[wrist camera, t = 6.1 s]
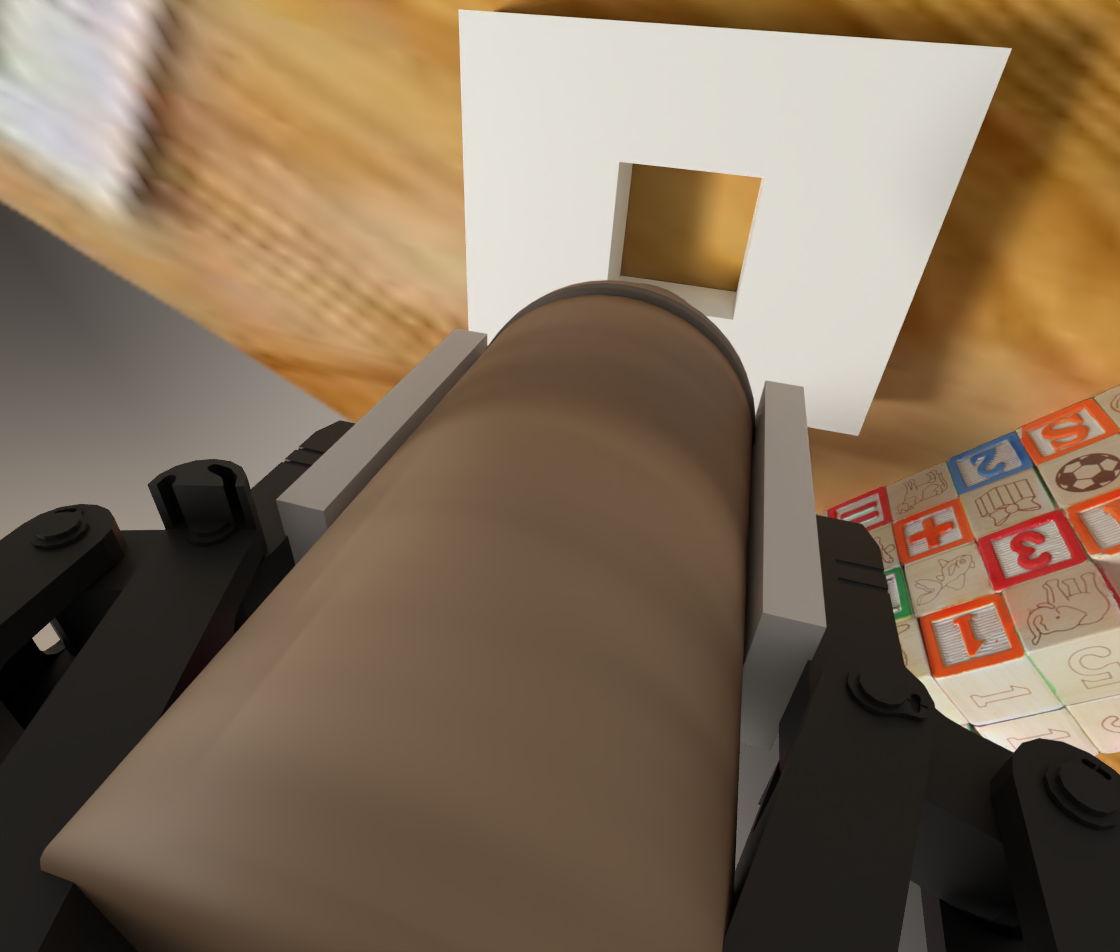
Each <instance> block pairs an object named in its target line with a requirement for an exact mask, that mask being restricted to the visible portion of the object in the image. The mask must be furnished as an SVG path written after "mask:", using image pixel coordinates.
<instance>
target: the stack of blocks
mask: <svg viewBox="0 0 1120 952" xmlns="http://www.w3.org/2000/svg"><path fill="white" fill-rule="evenodd" d="M816 515H821V516H826V517H831V518H835V519H840V520H845V521H850V522H855V523H860V524H863V526H864V527H865V528H866V529H867V531H868V532H869V533H870V535H871V536H872V537H873V539H874V540H875V541H876V543H877V544H878V545H879V546H880V551H881V556H882V561H883V565H884V574H885V575H886V579H887V584H888V593H890V598H891V603H892V607H893V612H894V617H895V621H896V626H897V631H898V635H899V640H900V645H901V650H902V654H903V659H904V664H905V667H906V668H907V669H909V670H910V671H911V672H912V673H913V674H914V675H915V676H916V677H917V678H918V679H919V680H920V681H921V682H922V683H923V684H924V685H925V687H926V689H927V690H928V692H929V694H930V696H931V698H932V699H933V701H934V703H935V708H936V709H937V710H938V711H939V712H941V713H942V714H943V715H944V716H946V717H947V718H949V719H951V720H952V721H954V722H956V723H957V724H959V725H961V726H962V727H964V728H966V729H968V730H970V731H972V732H974V733H976V734H978V735H980V736H982V737H984V738H986V739H988V740H990V741H992V742H994V743H996V744H998V745H1000V746H1002V747H1004V748H1006V749H1008V750H1010V751H1012V752H1014V751H1015V750H1016V749H1017V748H1018V747H1019V746H1020V745H1021V743H1023V742H1027V741H1031V740H1034V739H1038V738H1042V739H1049V740H1056V741H1062V742H1065V743H1067V744H1070V745H1072V746H1074V747H1077V748H1079V749H1081V750H1084V751H1086V752H1088V753H1090V754H1092V755H1093V756H1096V755H1098V754H1099V753H1100V752H1102V753H1106V754H1109V753H1115V752H1120V385H1119V386H1116V387H1114V388H1112V389H1109V390H1107V391H1105V392H1103V393H1101V394H1099V395H1097V396H1096V397H1094V398H1092V399H1087V400H1084V401H1082V402H1079V403H1077V404H1074V405H1072V406H1069V407H1067V408H1065V409H1062V410H1060V411H1058V412H1055V413H1053V414H1050V415H1048V416H1045V417H1043V418H1041V419H1038V420H1036V421H1034V422H1032V423H1029V424H1027V425H1024V426H1022V427H1020V428H1018V429H1017V430H1016V431H1015V432H1012V433H1009V434H1006V435H1004V436H1002V437H999V438H997V439H995V440H992V441H990V442H988V443H985V444H983V445H981V446H978V447H976V448H974V449H972V450H969V451H967V452H964V453H962V454H960V455H957V456H955V457H952V458H950V459H949V460H948V461H946V462H942V463H939V464H937V465H935V466H932V467H930V468H928V469H926V470H923V471H921V472H918V473H916V474H914V475H911V476H909V477H907V478H905V479H902V480H900V481H897V482H895V483H893V484H890V485H888V486H886V487H880V488H878V489H876V490H873V491H871V492H868V493H866V494H864V495H861V496H859V497H857V498H854V499H852V500H850V501H847V502H845V503H842V504H840V505H838V506H836V507H833V508H831V509H829V510H826V511H823V512H820V513H818V514H816Z"/></svg>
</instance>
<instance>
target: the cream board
mask: <svg viewBox="0 0 1120 952" xmlns="http://www.w3.org/2000/svg"><path fill="white" fill-rule="evenodd" d="M459 37H460V69H461V101H462V133H463V165H464V197H465V229H466V261H467V293H468V325H469V331H473V332H479V333H485V334H487V346H488V345H489V344H490V342H491V341H492V340H493V338H494V337H495V336H496V334H497V333H498V332H499V331H500V330H501V329H502V328H503V326H504V325H505V324H506V323H507V322H508V321H509V320H510V319H511V318H512V317H513V316H515V315H516V314H517V313H518V312H519V311H520V310H522V309H523V308H525V307H526V306H527V305H529V304H530V303H532V302H534V301H535V300H537V299H539V298H541V297H542V296H544V295H546V294H548V293H550V292H552V291H554V290H557V289H560V288H563V287H566V286H569V285H572V284H577V283H583V282H588V281H601V280H615V281H628V282H633V283H645V284H650V285H655V286H658V287H661V288H664V289H667V290H669V291H671V292H673V293H675V294H676V295H678V296H679V297H681V298H682V299H684V300H685V301H686V302H687V303H688V304H690V305H691V306H693V307H694V308H696V309H697V310H699V311H700V312H702V313H703V314H704V315H705V316H706V317H707V318H708V319H710V320H711V321H712V322H713V323H714V324H715V325H716V326H717V327H718V328H719V329H720V330H721V332H722V333H723V334H724V335H725V336H726V338H727V339H728V340H729V341H730V343H731V344H732V346H733V348H734V349H735V351H736V352H737V354H738V355H739V357H740V359H741V362H742V364H743V366H744V368H745V371H746V373H747V376H748V380H749V383H750V387H751V390H752V394H753V398H754V406H755V415H756V413H757V409H758V406H759V402H760V398H761V395H762V391H763V388H764V384H765V380H766V381H772V382H778V383H784V384H790V385H796V386H802V387H804V397H805V407H806V418H807V427H810V428H816V429H822V430H827V431H833V432H839V433H844V434H850V435H855V436H858V435H859V433H860V430H861V428H862V425H863V423H864V420H865V418H866V415H867V413H868V410H869V407H870V405H871V402H872V400H873V397H874V395H875V392H876V390H877V387H878V385H879V382H880V380H881V377H882V375H883V372H884V370H885V367H886V365H887V362H888V360H889V357H890V355H891V352H892V350H893V347H894V344H895V342H896V339H897V337H898V334H899V332H900V329H901V327H902V324H903V322H904V319H905V317H906V314H907V312H908V309H909V307H910V304H911V302H912V299H913V297H914V294H915V292H916V289H917V287H918V284H919V281H920V279H921V276H922V274H923V271H924V269H925V266H926V264H927V261H928V259H929V256H930V254H931V251H932V249H933V246H934V244H935V241H936V239H937V236H938V234H939V231H940V229H941V226H942V224H943V221H944V218H945V216H946V213H947V211H948V208H949V206H950V203H951V201H952V198H953V196H954V193H955V191H956V188H957V186H958V183H959V181H960V178H961V176H962V173H963V171H964V168H965V166H966V163H967V161H968V158H969V155H970V153H971V150H972V148H973V145H974V143H975V140H976V138H977V135H978V133H979V130H980V128H981V125H982V123H983V120H984V118H985V115H986V113H987V110H988V108H989V105H990V103H991V100H992V98H993V95H994V92H995V90H996V87H997V85H998V82H999V80H1000V77H1001V75H1002V72H1003V70H1004V67H1005V65H1006V62H1007V60H1008V57H1009V55H1010V52H1011V50H1012V48H1002V47H990V46H977V45H963V44H949V43H935V42H920V41H906V40H892V39H877V38H863V37H849V36H835V35H820V34H806V33H792V32H778V31H763V30H749V29H735V28H720V27H706V26H692V25H678V24H663V23H649V22H635V21H621V20H606V19H592V18H578V17H563V16H549V15H535V14H521V13H506V12H492V11H476V10H459ZM633 163H634V164H643V165H652V166H661V167H670V168H679V169H688V170H697V171H706V172H716V173H725V174H734V175H743V176H752V177H761V178H762V180H761V185H760V189H759V194H758V198H757V203H756V207H755V211H754V216H753V220H752V225H751V229H750V234H749V238H748V243H747V247H746V251H745V256H744V260H743V265H742V269H741V274H740V278H739V282H738V287H737V291H736V292H733V291H726V290H719V289H712V288H705V287H698V286H691V285H684V284H677V283H670V282H663V281H656V280H649V279H642V278H635V277H628V276H621V275H620V273H621V264H622V255H623V247H624V238H625V229H626V220H627V211H628V202H629V193H630V185H631V176H632V167H633Z"/></svg>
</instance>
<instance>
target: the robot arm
mask: <svg viewBox="0 0 1120 952" xmlns="http://www.w3.org/2000/svg"><path fill="white" fill-rule="evenodd" d="M486 348H487V334H485V333H479V332H473V331H467V330H461V329H455V330H453V331H452V332H451V333H450V334H449V335H448V336H447V337H446V338H445V339H444V340H443V341H442V342H441V343H440V344H439V345H438V346H437V347H436V348H435V349H434V350H432V351H431V352H430V353H429V354H428V355H427V356H426V357H425V358H424V359H423V360H422V361H421V362H420V363H419V364H418V365H417V366H416V367H415V368H414V369H413V370H412V371H410V372H409V373H408V374H407V375H406V376H405V377H404V378H403V379H402V380H401V381H400V382H399V383H398V384H397V385H396V386H395V387H394V388H393V389H392V390H391V391H389V392H388V393H387V394H386V395H385V396H384V397H383V398H382V399H381V400H380V401H379V402H378V403H377V404H376V405H375V406H374V407H373V408H372V409H371V410H370V411H368V412H367V413H366V414H365V415H364V416H363V417H362V418H361V419H360V420H359V421H358V422H357V423H356V424H355V423H350V422H345V421H338V422H336V423H334V424H331V425H329V426H327V427H325V428H323V429H321V430H318V431H316V432H315V433H314V434H313V435H312V436H310V437H309V438H308V439H307V440H306V441H305V442H304V443H302V444H301V445H300V446H299V449H298V450H295V451H293V452H292V453H291V454H290V455H289V456H288V457H287V458H286V459H285V462H284V463H283V462H281V463H280V464H279V465H278V466H277V467H275V468H274V469H273V470H272V471H271V472H270V473H269V474H268V475H267V476H265V477H264V478H263V479H262V480H261V481H260V482H259V483H257V485H255V486H254V487H253V488H252V489H250V486H249V482H248V479H247V476H246V474H245V472H244V470H243V468H242V467H241V466H239V465H237V464H235V463H233V462H231V461H225V460H217V459H209V460H196V461H192V462H189V463H185V464H181V465H178V466H175V467H173V468H171V469H169V470H167V471H165V472H163V473H161V474H159V475H158V476H157V477H156V478H155V479H153V480H152V481H151V482H150V483H149V484H148V487H149V489H150V492H151V494H152V497H153V499H154V502H155V504H156V506H157V509H158V511H159V514H160V516H161V519H162V521H163V523H164V526H165V528H166V529H165V530H124V531H123V530H122V531H120V529H119V527H118V525H117V523H116V521H115V519H114V517H113V515H112V514H111V512H110V511H109V510H108V509H106V508H103V507H100V506H98V505H88V504H87V505H86V504H78V505H72V506H65V507H60V508H56V509H54V510H52V511H48V512H46V513H43V514H40V515H38V516H36V517H35V518H33V519H31V520H29V521H28V522H26V523H24V524H22V525H21V526H20V527H18V528H17V529H15V530H14V531H13V532H11V533H10V534H8V535H7V536H6V537H4V538H3V539H1V540H0V952H138V951H137V950H136V949H135V948H134V947H133V946H132V945H131V944H130V943H129V942H128V941H127V940H126V938H125V937H124V936H123V935H122V934H121V933H120V932H119V931H118V930H117V929H116V928H115V927H114V926H113V924H112V923H111V922H110V921H109V920H108V919H107V918H106V917H105V916H104V915H103V914H102V913H101V911H100V910H99V909H98V908H97V907H96V906H95V905H94V904H93V903H92V902H91V901H90V900H89V899H88V897H87V896H86V895H85V894H84V893H83V892H82V891H81V890H80V889H79V888H78V887H77V886H76V884H75V883H74V882H71V881H68V880H66V879H63V878H61V877H58V876H55V875H53V874H50V873H47V872H45V871H42V870H41V866H40V858H41V856H42V854H43V852H44V850H45V848H46V847H47V846H48V845H49V843H50V842H51V841H52V840H53V839H54V838H55V837H56V835H57V834H58V833H59V832H60V831H61V830H62V829H63V828H64V826H65V825H66V824H67V823H68V822H69V821H70V820H71V819H72V817H73V816H74V815H75V814H76V813H77V812H78V811H79V809H80V808H81V807H82V806H83V805H84V804H85V803H86V802H87V800H88V799H89V798H90V797H91V796H92V795H93V794H94V793H95V791H96V790H97V789H98V788H99V787H100V786H101V785H102V783H103V782H104V781H105V780H106V779H107V778H108V777H109V776H110V774H111V773H112V772H113V771H114V770H115V769H116V768H117V767H118V765H119V764H120V763H121V762H122V761H123V760H124V759H125V757H126V756H127V755H128V754H129V753H130V752H131V751H132V750H133V748H134V747H135V746H136V745H137V744H138V743H139V742H140V741H141V739H142V738H143V737H144V736H145V735H146V734H147V733H148V731H149V730H150V729H151V728H152V727H153V726H154V725H155V724H156V722H157V721H158V720H159V719H160V718H161V717H162V716H163V715H164V713H165V712H166V711H167V710H168V709H169V708H170V707H171V705H172V704H173V703H174V702H175V701H176V700H177V699H178V698H179V696H180V695H181V694H182V693H183V692H184V691H185V690H186V689H187V687H188V686H189V685H190V684H191V683H192V682H193V681H194V679H195V678H196V677H197V676H198V675H199V674H200V673H201V672H202V670H203V669H204V668H205V667H206V666H207V665H208V664H209V663H210V661H211V660H212V659H213V658H214V657H215V656H216V655H217V653H218V652H219V651H220V650H221V649H222V648H223V647H224V646H225V644H226V643H227V642H228V641H229V640H230V639H231V638H232V637H233V635H234V634H235V633H236V632H237V631H238V630H239V629H240V627H241V626H242V625H243V624H244V623H245V622H246V621H247V620H248V618H249V617H250V616H251V615H252V614H253V613H254V612H255V611H256V609H257V608H258V607H259V606H260V605H261V604H262V603H263V601H264V600H265V599H266V598H267V597H268V596H269V595H270V594H271V592H272V591H273V590H274V589H275V588H276V587H277V586H278V585H279V583H280V582H281V581H282V580H283V579H284V578H285V577H286V575H287V574H288V573H289V572H290V571H291V570H292V569H293V568H294V566H295V565H296V564H297V563H298V562H299V561H300V560H301V559H302V557H303V556H304V555H305V554H306V553H307V552H308V551H309V549H310V548H311V547H312V546H313V545H314V544H315V543H316V542H317V540H318V539H319V538H320V537H321V536H322V535H323V534H324V533H325V531H326V530H327V529H328V528H329V527H330V526H331V525H332V523H333V522H334V521H335V520H336V519H337V518H338V517H339V516H340V514H341V513H342V512H343V511H344V510H345V509H346V508H347V507H348V505H349V504H350V503H351V502H352V501H353V500H354V499H355V497H356V496H357V495H358V494H359V493H360V492H361V491H362V490H363V488H364V487H365V486H366V485H367V484H368V483H369V482H370V481H371V479H372V478H373V477H374V476H375V475H376V474H377V473H378V471H379V470H380V469H381V468H382V467H383V466H384V465H385V464H386V462H387V461H388V460H389V459H390V458H391V457H392V456H393V455H394V453H395V452H396V451H397V450H398V449H399V448H400V447H401V445H402V444H403V443H404V442H405V441H406V440H407V439H408V438H409V436H410V435H411V434H412V433H413V432H414V431H415V430H416V429H417V427H418V426H419V425H420V424H421V423H422V422H423V421H424V419H425V418H426V417H427V416H428V415H429V414H430V413H431V412H432V410H433V409H434V408H435V407H436V406H437V405H438V404H439V403H440V401H441V400H442V399H443V398H444V397H445V396H446V395H447V393H448V392H449V391H450V390H451V389H452V388H453V387H454V386H455V384H456V383H457V382H458V381H459V380H460V379H461V378H462V377H463V375H464V374H465V373H466V372H467V371H468V370H469V369H470V367H471V366H472V365H473V364H474V363H475V362H476V361H477V360H478V358H479V357H480V356H481V355H482V354H483V353H484V352H485V350H486ZM49 622H50V624H51V625H52V627H53V629H54V630H55V632H56V633H57V635H58V637H59V638H60V640H59V641H58V642H57V643H56V644H55V645H53V646H52V647H50V648H49V649H47V650H45V651H40V650H39V648H38V647H37V645H36V644H35V642H34V641H33V639H32V638H33V637H34V636H35V635H36V634H37V633H38V632H39V631H40V630H41V629H43V628H44V627H45V626H46V625H47V624H48V623H49ZM778 732H779V759H780V760H779V762H778V764H777V766H776V768H775V770H774V772H773V774H772V776H771V778H770V780H769V782H768V785H767V787H766V789H765V791H764V793H763V795H762V797H761V799H760V801H759V803H758V804H759V805H760V807H759V810H758V813H757V815H756V818H755V821H754V823H753V826H752V828H751V831H750V834H749V836H748V839H747V842H746V844H745V847H744V849H743V852H742V855H741V857H740V860H739V863H738V865H737V868H736V871H735V880H734V903H733V909H732V913H731V916H730V920H729V924H728V928H727V931H726V935H725V938H724V942H723V947H722V952H898V947H899V941H900V935H901V929H902V924H903V917H904V912H905V906H906V899H907V894H908V888H909V882H910V880H911V881H913V882H914V883H916V884H918V885H919V886H920V888H921V897H922V905H923V915H924V924H925V933H926V942H927V951H928V952H1120V775H1119V774H1118V773H1117V772H1116V771H1115V770H1114V769H1112V768H1111V767H1109V766H1108V765H1106V764H1105V763H1103V762H1102V761H1100V760H1099V759H1098V758H1096V757H1095V756H1093V755H1092V754H1090V753H1088V752H1086V751H1084V750H1081V749H1079V748H1077V747H1074V746H1072V745H1070V744H1067V743H1065V742H1062V741H1056V740H1049V739H1042V738H1038V739H1034V740H1031V741H1027V742H1023V743H1021V745H1020V746H1019V747H1018V748H1017V749H1016V750H1015V751H1014V752H1012V751H1010V750H1008V749H1006V748H1004V747H1002V746H1000V745H998V744H996V743H994V742H992V741H990V740H988V739H986V738H984V737H982V736H980V735H978V734H976V733H974V732H972V731H970V730H968V729H966V728H964V727H962V726H961V725H959V724H957V723H956V722H954V721H952V720H951V719H949V718H947V717H946V716H944V715H943V714H942V713H941V712H939V711H938V710H937V709H936V708H935V703H934V701H933V699H932V698H931V696H930V694H929V692H928V690H927V689H926V687H925V685H924V684H923V683H922V682H921V681H920V680H919V679H918V678H917V677H916V676H915V675H914V674H913V673H912V672H911V671H910V670H909V669H907V668H906V667H905V664H904V659H903V654H902V650H901V645H900V640H899V635H898V631H897V626H896V621H895V617H894V612H893V607H892V603H891V598H890V593H888V584H887V579H886V575H885V574H884V565H883V561H882V556H881V551H880V546H879V545H878V544H877V543H876V541H875V540H874V539H873V537H872V536H871V535H870V533H869V532H868V531H867V529H866V528H865V527H864V526H863V524H860V523H855V522H850V521H845V520H840V519H835V518H831V517H826V516H821V515H816V511H815V501H814V491H813V480H812V470H811V459H810V449H809V438H808V428H807V418H806V407H805V397H804V387H802V386H796V385H790V384H784V383H778V382H772V381H766V380H765V384H764V388H763V391H762V395H761V398H760V402H759V406H758V409H757V413H756V418H755V441H754V444H753V448H752V454H751V479H750V504H749V529H748V554H747V579H746V604H745V629H744V654H743V679H742V704H741V729H740V743H742V744H746V745H749V746H753V747H757V748H761V749H764V750H768V751H770V750H771V748H772V745H773V743H774V741H775V739H776V737H777V735H778Z"/></svg>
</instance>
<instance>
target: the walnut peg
mask: <svg viewBox="0 0 1120 952" xmlns="http://www.w3.org/2000/svg"><path fill="white" fill-rule="evenodd" d="M755 418H756V415H755V406H754V398H753V394H752V390H751V387H750V383H749V380H748V376H747V373H746V371H745V368H744V366H743V364H742V362H741V359H740V357H739V355H738V354H737V352H736V351H735V349H734V348H733V346H732V344H731V343H730V341H729V340H728V339H727V338H726V336H725V335H724V334H723V333H722V332H721V330H720V329H719V328H718V327H717V326H716V325H715V324H714V323H713V322H712V321H711V320H710V319H708V318H707V317H706V316H705V315H704V314H703V313H702V312H700V311H699V310H697V309H696V308H694V307H693V306H691V305H690V304H688V303H687V302H686V301H685V300H684V299H682V298H681V297H679V296H678V295H676V294H675V293H673V292H671V291H669V290H667V289H664V288H661V287H658V286H655V285H650V284H645V283H633V282H628V281H615V280H601V281H588V282H583V283H577V284H572V285H569V286H566V287H563V288H560V289H557V290H554V291H552V292H550V293H548V294H546V295H544V296H542V297H541V298H539V299H537V300H535V301H534V302H532V303H530V304H529V305H527V306H526V307H525V308H523V309H522V310H520V311H519V312H518V313H517V314H516V315H515V316H513V317H512V318H511V319H510V320H509V321H508V322H507V323H506V324H505V325H504V326H503V328H502V329H501V330H500V331H499V332H498V333H497V334H496V336H495V337H494V338H493V340H492V341H491V342H490V344H489V345H488V346H487V348H486V350H485V352H484V353H483V354H482V355H481V356H480V357H479V358H478V360H477V361H476V362H475V363H474V364H473V365H472V366H471V367H470V369H469V370H468V371H467V372H466V373H465V374H464V375H463V377H462V378H461V379H460V380H459V381H458V382H457V383H456V384H455V386H454V387H453V388H452V389H451V390H450V391H449V392H448V393H447V395H446V396H445V397H444V398H443V399H442V400H441V401H440V403H439V404H438V405H437V406H436V407H435V408H434V409H433V410H432V412H431V413H430V414H429V415H428V416H427V417H426V418H425V419H424V421H423V422H422V423H421V424H420V425H419V426H418V427H417V429H416V430H415V431H414V432H413V433H412V434H411V435H410V436H409V438H408V439H407V440H406V441H405V442H404V443H403V444H402V445H401V447H400V448H399V449H398V450H397V451H396V452H395V453H394V455H393V456H392V457H391V458H390V459H389V460H388V461H387V462H386V464H385V465H384V466H383V467H382V468H381V469H380V470H379V471H378V473H377V474H376V475H375V476H374V477H373V478H372V479H371V481H370V482H369V483H368V484H367V485H366V486H365V487H364V488H363V490H362V491H361V492H360V493H359V494H358V495H357V496H356V497H355V499H354V500H353V501H352V502H351V503H350V504H349V505H348V507H347V508H346V509H345V510H344V511H343V512H342V513H341V514H340V516H339V517H338V518H337V519H336V520H335V521H334V522H333V523H332V525H331V526H330V527H329V528H328V529H327V530H326V531H325V533H324V534H323V535H322V536H321V537H320V538H319V539H318V540H317V542H316V543H315V544H314V545H313V546H312V547H311V548H310V549H309V551H308V552H307V553H306V554H305V555H304V556H303V557H302V559H301V560H300V561H299V562H298V563H297V564H296V565H295V566H294V568H293V569H292V570H291V571H290V572H289V573H288V574H287V575H286V577H285V578H284V579H283V580H282V581H281V582H280V583H279V585H278V586H277V587H276V588H275V589H274V590H273V591H272V592H271V594H270V595H269V596H268V597H267V598H266V599H265V600H264V601H263V603H262V604H261V605H260V606H259V607H258V608H257V609H256V611H255V612H254V613H253V614H252V615H251V616H250V617H249V618H248V620H247V621H246V622H245V623H244V624H243V625H242V626H241V627H240V629H239V630H238V631H237V632H236V633H235V634H234V635H233V637H232V638H231V639H230V640H229V641H228V642H227V643H226V644H225V646H224V647H223V648H222V649H221V650H220V651H219V652H218V653H217V655H216V656H215V657H214V658H213V659H212V660H211V661H210V663H209V664H208V665H207V666H206V667H205V668H204V669H203V670H202V672H201V673H200V674H199V675H198V676H197V677H196V678H195V679H194V681H193V682H192V683H191V684H190V685H189V686H188V687H187V689H186V690H185V691H184V692H183V693H182V694H181V695H180V696H179V698H178V699H177V700H176V701H175V702H174V703H173V704H172V705H171V707H170V708H169V709H168V710H167V711H166V712H165V713H164V715H163V716H162V717H161V718H160V719H159V720H158V721H157V722H156V724H155V725H154V726H153V727H152V728H151V729H150V730H149V731H148V733H147V734H146V735H145V736H144V737H143V738H142V739H141V741H140V742H139V743H138V744H137V745H136V746H135V747H134V748H133V750H132V751H131V752H130V753H129V754H128V755H127V756H126V757H125V759H124V760H123V761H122V762H121V763H120V764H119V765H118V767H117V768H116V769H115V770H114V771H113V772H112V773H111V774H110V776H109V777H108V778H107V779H106V780H105V781H104V782H103V783H102V785H101V786H100V787H99V788H98V789H97V790H96V791H95V793H94V794H93V795H92V796H91V797H90V798H89V799H88V800H87V802H86V803H85V804H84V805H83V806H82V807H81V808H80V809H79V811H78V812H77V813H76V814H75V815H74V816H73V817H72V819H71V820H70V821H69V822H68V823H67V824H66V825H65V826H64V828H63V829H62V830H61V831H60V832H59V833H58V834H57V835H56V837H55V838H54V839H53V840H52V841H51V842H50V843H49V845H48V846H47V847H46V848H45V850H44V852H43V854H42V856H41V858H40V866H41V870H42V871H45V872H47V873H50V874H53V875H55V876H58V877H61V878H63V879H66V880H68V881H71V882H74V883H75V884H76V886H77V887H78V888H79V889H80V890H81V891H82V892H83V893H84V894H85V895H86V896H87V897H88V899H89V900H90V901H91V902H92V903H93V904H94V905H95V906H96V907H97V908H98V909H99V910H100V911H101V913H102V914H103V915H104V916H105V917H106V918H107V919H108V920H109V921H110V922H111V923H112V924H113V926H114V927H115V928H116V929H117V930H118V931H119V932H120V933H121V934H122V935H123V936H124V937H125V938H126V940H127V941H128V942H129V943H130V944H131V945H132V946H133V947H134V948H135V949H136V950H137V951H138V952H722V947H723V942H724V938H725V935H726V931H727V928H728V924H729V920H730V916H731V913H732V909H733V903H734V880H735V853H736V830H737V803H738V780H739V754H740V729H741V704H742V679H743V654H744V629H745V604H746V579H747V554H748V529H749V504H750V479H751V454H752V448H753V444H754V441H755Z"/></svg>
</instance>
